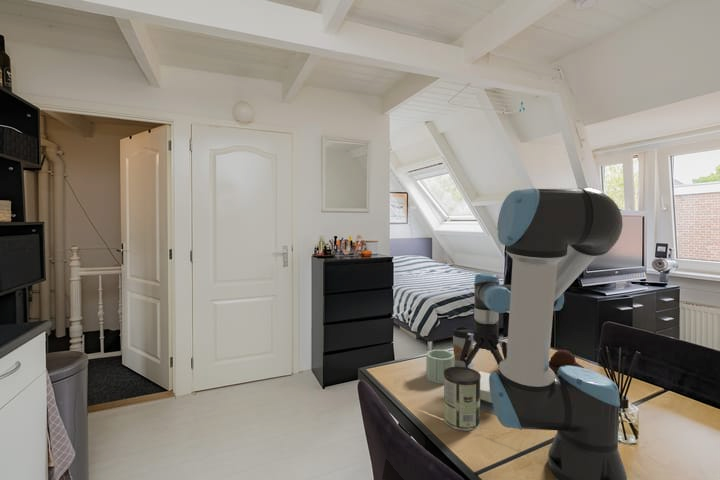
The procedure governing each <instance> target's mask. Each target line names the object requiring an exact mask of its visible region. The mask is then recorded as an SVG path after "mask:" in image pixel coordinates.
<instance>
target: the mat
mask: <svg viewBox="0 0 720 480" xmlns="http://www.w3.org/2000/svg"><path fill="white" fill-rule="evenodd" d="M480 411H482V412H486V413H487V414H491V415H494V416H496V413H495V410H494V407H493V403H491V402H488V401H485V400H482V399H480Z"/></svg>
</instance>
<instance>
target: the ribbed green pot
mask: <svg viewBox="0 0 720 480" xmlns="http://www.w3.org/2000/svg"><path fill="white" fill-rule="evenodd" d="M425 363H426V380H427V379H428V381H430V382H433V383H435V384H441V385H442V384H443V385H444V370H445V369H447V368H450V367H455V356H454V352H451V351H450V350H446V349H445V350H444V349H431V350H428V351H426V362H425Z"/></svg>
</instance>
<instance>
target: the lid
mask: <svg viewBox="0 0 720 480" xmlns="http://www.w3.org/2000/svg"><path fill="white" fill-rule="evenodd" d="M478 372H479V373H480V375H481V379H480V399H482V400H485V401H488V402H491V403H492V399H491V394H490V387H489V376H490V374H491V373H489V372H486V371H485V372H484V371H481V370H480V371H478Z"/></svg>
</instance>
